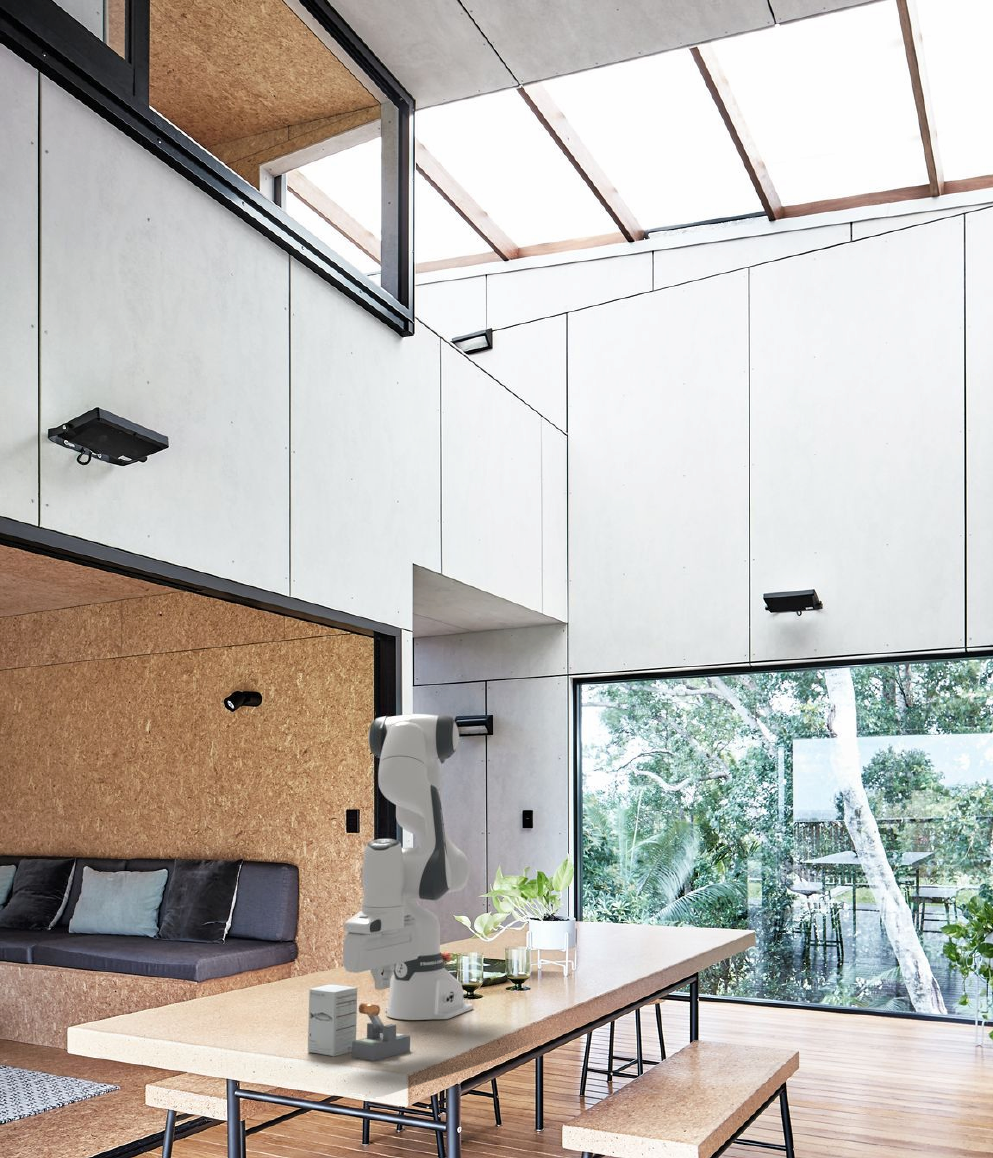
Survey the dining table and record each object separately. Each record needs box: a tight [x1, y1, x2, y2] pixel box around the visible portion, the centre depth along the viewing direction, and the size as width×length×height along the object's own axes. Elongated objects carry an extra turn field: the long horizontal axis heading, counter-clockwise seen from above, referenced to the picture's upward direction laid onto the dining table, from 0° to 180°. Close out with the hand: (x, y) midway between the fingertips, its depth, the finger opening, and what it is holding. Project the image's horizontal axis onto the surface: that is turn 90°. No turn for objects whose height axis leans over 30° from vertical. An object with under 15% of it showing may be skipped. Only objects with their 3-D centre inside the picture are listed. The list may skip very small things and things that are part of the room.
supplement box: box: [307, 984, 358, 1057], centre depth 237 cm, size 7×7×13 cm
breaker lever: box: [358, 1002, 385, 1034], centre depth 233 cm, size 2×4×8 cm
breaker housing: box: [351, 1021, 411, 1062], centre depth 234 cm, size 11×6×6 cm, turn 144°
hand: (382, 988), depth 236 cm, fingers closed
